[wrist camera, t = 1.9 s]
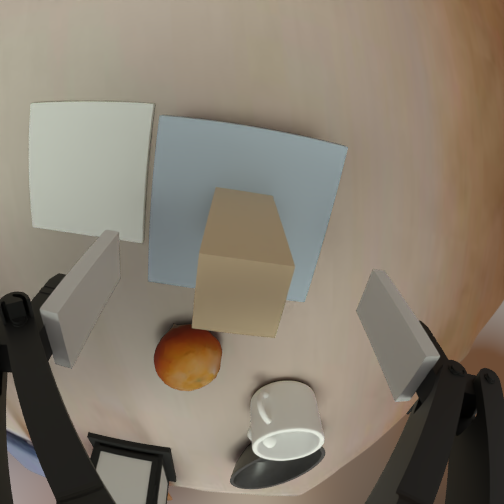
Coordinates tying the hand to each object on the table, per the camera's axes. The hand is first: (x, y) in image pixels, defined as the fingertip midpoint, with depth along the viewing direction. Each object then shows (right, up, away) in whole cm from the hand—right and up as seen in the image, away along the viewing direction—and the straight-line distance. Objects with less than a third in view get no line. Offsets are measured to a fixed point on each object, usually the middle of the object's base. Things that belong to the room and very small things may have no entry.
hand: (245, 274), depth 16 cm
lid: (-1, +4, +8) cm, 9 cm away
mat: (-17, +9, +12) cm, 23 cm away
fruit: (-7, -10, +23) cm, 26 cm away
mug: (+4, -20, +28) cm, 35 cm away
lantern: (-25, -44, +39) cm, 64 cm away
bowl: (+4, -34, +36) cm, 50 cm away
